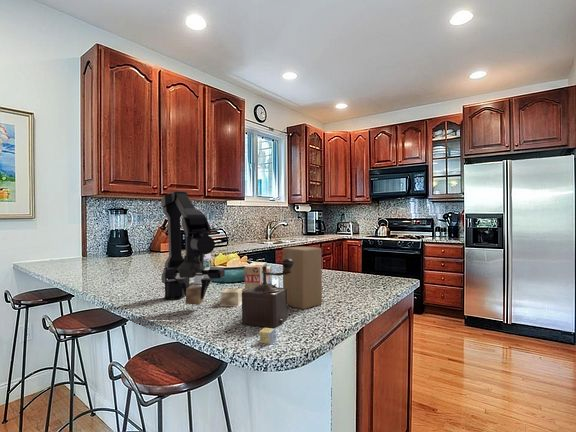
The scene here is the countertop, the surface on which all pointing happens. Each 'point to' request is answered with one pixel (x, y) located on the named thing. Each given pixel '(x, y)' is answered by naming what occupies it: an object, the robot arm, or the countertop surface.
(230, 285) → the countertop surface
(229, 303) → the maple base block
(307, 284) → the wooden block
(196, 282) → the syrup box
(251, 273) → the stack of blocks
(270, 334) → the alphabet block
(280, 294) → the manual coffee grinder
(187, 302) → the brown block
